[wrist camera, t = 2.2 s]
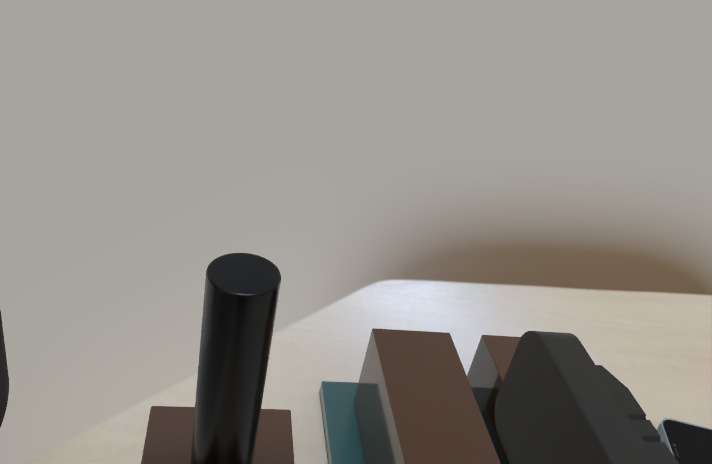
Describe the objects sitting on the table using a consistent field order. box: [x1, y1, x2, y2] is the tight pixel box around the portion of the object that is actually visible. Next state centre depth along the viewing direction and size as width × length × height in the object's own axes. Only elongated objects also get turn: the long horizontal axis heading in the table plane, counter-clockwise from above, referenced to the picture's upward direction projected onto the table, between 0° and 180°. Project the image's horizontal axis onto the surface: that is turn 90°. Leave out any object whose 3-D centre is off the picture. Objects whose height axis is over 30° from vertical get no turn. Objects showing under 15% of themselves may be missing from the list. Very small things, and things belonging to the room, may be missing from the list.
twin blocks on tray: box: [320, 329, 521, 464], centre depth 42 cm, size 16×18×8 cm
